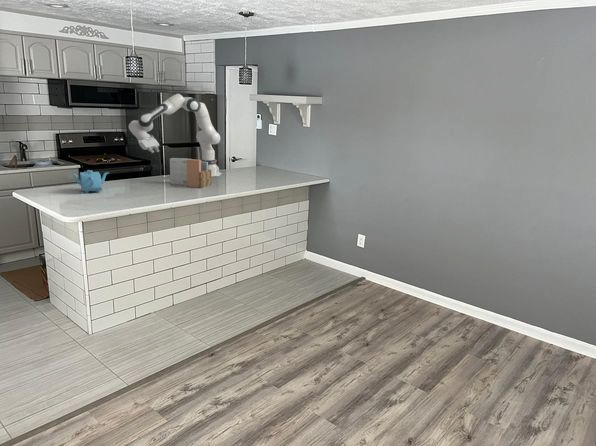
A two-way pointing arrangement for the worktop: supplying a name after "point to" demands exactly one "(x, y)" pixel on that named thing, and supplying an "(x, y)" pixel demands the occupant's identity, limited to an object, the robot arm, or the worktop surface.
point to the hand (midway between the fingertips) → (155, 152)
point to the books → (195, 171)
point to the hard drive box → (178, 171)
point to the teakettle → (90, 181)
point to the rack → (205, 178)
